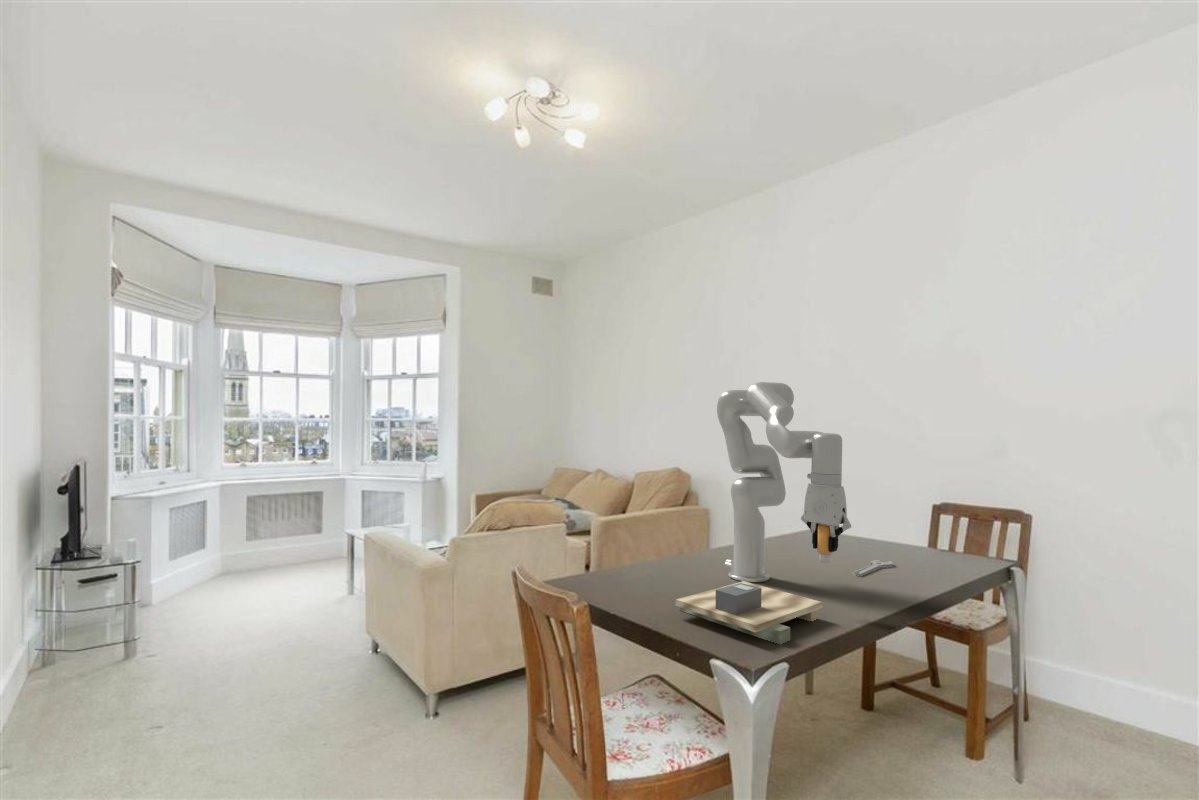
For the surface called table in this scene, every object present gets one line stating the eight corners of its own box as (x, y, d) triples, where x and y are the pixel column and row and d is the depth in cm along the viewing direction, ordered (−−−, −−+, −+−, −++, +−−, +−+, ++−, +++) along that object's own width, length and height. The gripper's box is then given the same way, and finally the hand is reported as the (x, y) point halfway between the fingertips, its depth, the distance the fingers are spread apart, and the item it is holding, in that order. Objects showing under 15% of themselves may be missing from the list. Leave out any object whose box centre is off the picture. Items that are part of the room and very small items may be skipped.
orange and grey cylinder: (814, 561, 160) (814, 525, 160) (821, 558, 162) (822, 523, 162) (827, 564, 157) (828, 527, 157) (835, 562, 159) (835, 525, 159)
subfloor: (666, 614, 155) (666, 596, 155) (734, 594, 173) (734, 578, 173) (767, 650, 132) (767, 629, 132) (833, 623, 150) (833, 604, 150)
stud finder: (715, 608, 145) (715, 589, 146) (741, 601, 152) (741, 582, 152) (735, 615, 141) (736, 595, 141) (761, 607, 147) (761, 587, 147)
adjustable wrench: (859, 579, 194) (859, 573, 194) (841, 574, 199) (841, 569, 199) (895, 567, 210) (895, 561, 210) (877, 563, 215) (877, 558, 215)
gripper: (790, 477, 164) (788, 545, 164) (849, 484, 151) (847, 558, 151) (805, 475, 169) (804, 541, 168) (863, 482, 156) (862, 554, 156)
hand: (824, 548), depth 160 cm, fingers closed on orange and grey cylinder, 3 cm apart
